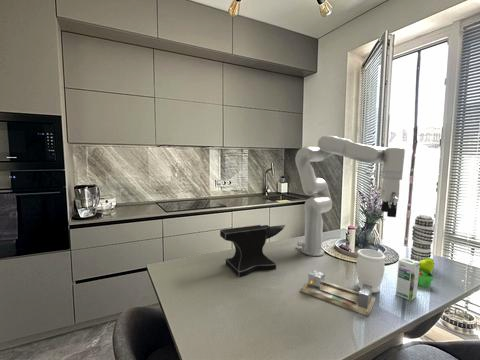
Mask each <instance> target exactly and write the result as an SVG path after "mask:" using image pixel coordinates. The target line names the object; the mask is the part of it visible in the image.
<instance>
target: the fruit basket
mask: <svg viewBox="0 0 480 360" xmlns="http://www.w3.org/2000/svg"><path fill="white" fill-rule="evenodd" d="M419 262H420V267H419V276H418V286H419V287H420V286H421V287H427V288H430V286H431V283H432V282H433V280H434V279H435V276H434V275H433V274H432V272H433V270H434V266H435V262H434V259H432V258H431V257H430V258H426V259H425V260H421V261H419Z"/></svg>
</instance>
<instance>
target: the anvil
mask: <svg viewBox="0 0 480 360" xmlns="http://www.w3.org/2000/svg"><path fill="white" fill-rule="evenodd" d="M285 227H286V224H281V225H271V226H270V225H267V224H264V225H260V224H256V225H250V226H249V225H247V226H241V227H232V228H225V229H220V230H219V236H220V237H221V238H222V239H223V240H224V241H227V242H232V244H233V245H234V249H235V252H234V255H233V256H232V257H230V258H225V265H226V266H227V268H229V269H230V271H231V272H232V273H233V274H234V275H235V276H236V277H237V278H238V279H239V278H245V277H247V276H249V275H251V274H253V273H256V272H270V271H276V270H277V263H276V262H274V261H273V260H271V259H270V258H269V257H268V256H266V255H265V253H264V252H263V251H264V250H263V249H264V246H265V245H266V242H267V240H268V239H271V238H273V237H275V236H277V235H278V234H279V233H281V231H283V229H285Z"/></svg>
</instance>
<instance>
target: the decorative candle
mask: <svg viewBox="0 0 480 360" xmlns="http://www.w3.org/2000/svg"><path fill="white" fill-rule="evenodd" d="M434 221H435V220H434V219H433V218H432V217H431V216H429V215H425V214H424V215H422V214H418V215H417V216H415V217H414V225H412V227H411V228H412V230H411V232H412V234H411V235H412V238H411V239H412V244H411V245H412V246H411V248H410V249H411V251H410V253H411V254H409V255H410V258H409V259H411V260H414V261H417V262H419V261H421V260H425V259H426V258H431V256H432V252H431V250H432V249H431V245H432V244H433V241H434V240H433V239H434V235H435V233H434V232H435V230H434Z"/></svg>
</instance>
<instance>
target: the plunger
mask: <svg viewBox="0 0 480 360" xmlns="http://www.w3.org/2000/svg"><path fill="white" fill-rule="evenodd" d="M307 276H308V277H307V279H308V280H307V282H308V285H310V286H313V287H316V288H319V289H321V288H322V287H323V286H324V281H325V277H326V274H325V272H322V271H319V270H315V269H312V270H311V271H310V272H309V273H308V275H307Z"/></svg>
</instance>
